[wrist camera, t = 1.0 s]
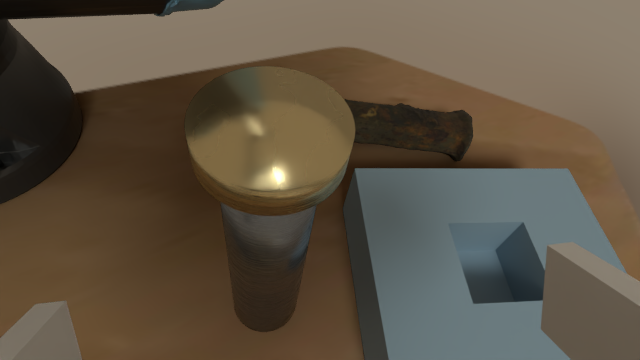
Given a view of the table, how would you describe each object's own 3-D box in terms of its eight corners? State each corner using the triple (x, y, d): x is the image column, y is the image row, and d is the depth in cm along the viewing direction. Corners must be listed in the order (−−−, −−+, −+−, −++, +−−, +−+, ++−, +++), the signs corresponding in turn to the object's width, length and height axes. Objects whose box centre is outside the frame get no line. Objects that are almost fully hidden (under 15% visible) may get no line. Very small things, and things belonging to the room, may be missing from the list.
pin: (223, 262, 28) (192, 63, 15) (305, 259, 29) (344, 69, 16) (218, 348, 25) (174, 189, 12) (311, 342, 26) (367, 188, 12)
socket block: (342, 208, 32) (354, 168, 28) (532, 205, 34) (567, 168, 30) (372, 414, 24) (395, 399, 20) (619, 392, 26) (684, 375, 22)
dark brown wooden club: (455, 135, 39) (476, 97, 35) (460, 168, 36) (482, 131, 32) (254, 104, 38) (253, 62, 34) (245, 135, 36) (243, 94, 32)
